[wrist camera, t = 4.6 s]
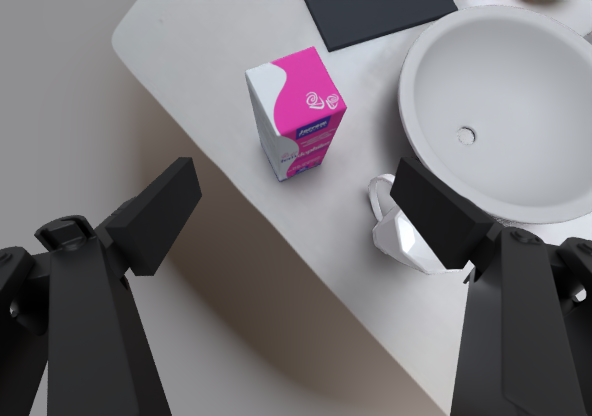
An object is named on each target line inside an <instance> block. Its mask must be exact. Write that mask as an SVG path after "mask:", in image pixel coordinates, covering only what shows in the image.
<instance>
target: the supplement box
mask: <svg viewBox="0 0 592 416" xmlns="http://www.w3.org/2000/svg"><path fill="white" fill-rule="evenodd" d="M245 76H246V81H247V85H248V89H249V93H250V98H251V102H252V106H253V111H254V115H255V120H256V124H257V129H258V133H259V137H260V141H261V144H262V146H263V148H264V150H265V153H266V155H267V157H268V159H269V161H270V163H271V165H272V168H273V170H274V172H275V174H276V176H277V178H278V180H279V182H281V181H283V180H285V179H287V178H289V177H291V176H293V175H295V174H298V173H300V172H302V171H305V170H307V169H309V168H312V167H314V166H317V165H319V164H321V162H322V160H323V158H324V156H325V154H326V152H327V149H328V147H329V145H330V143H331V141H332V139H333V137H334V135H335V133H336V130H337V128H338V126H339V124H340V122H341V120H342V117H343V115H344V113H345V111H346V109H347V107H346V105H345V103H344V101H343V99H342V97H341V95H340V94H339V92H338V90H337V88H336V87H335V85H334V83H333V81H332V80H331V78H330V76H329V74H328V72H327V70H326V68H325V66H324V64H323V62H322V61H321V59H320V57H319V55H318V53H317V51H316V49H315V47H310V48H307V49H305V50H302V51H299V52H297V53H294V54H291V55H288V56H285V57H283V58H280V59H277V60H274V61H272V62H269V63H266V64H263V65H260V66H258V67H255V68H252V69H249V70H246V71H245Z"/></svg>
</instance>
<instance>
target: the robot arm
mask: <svg viewBox="0 0 592 416" xmlns="http://www.w3.org/2000/svg"><path fill="white" fill-rule="evenodd" d="M390 196H391V197H392V198H393V200H394V201H395V202H396V204H397V205H398V206H399V207H400V209H401V210H402V211H403V213H404V214H405V215H406V217H407V218H408V219H409V221H410V222H411V223H412V225H413V226H414V227H415V229H416V230H417V231H418V233H419V234H420V235H421V237H422V238H423V239H424V241H425V242H426V243H427V245H428V246H429V247H430V249H431V250H432V251H433V253H434V254H435V255H436V257H437V258H438V259H439V260H440V262H441V263H442V264H443V266H444V267H445V268H446V270H450V269H463V268H464V266H465V265H466V264H467V262H468V261H469V260H470V261H471V262H472V263H473V264H474V266H475V267H474V268H473V269H472V271H471V272H470V273H469V275H468V276H467V278H466V279H465V280H464V282H463V283H464V284H466V283H467V282H468V281H469V288H468V295H467V302H466V309H465V316H464V323H463V330H462V337H461V344H460V351H459V358H458V365H457V371H456V378H455V385H454V392H453V399H452V406H451V413H450V416H592V241H591V240H585V239H582V238H576V237H570V238H567V239H566V240H565V241H564V242H563V243H562V244H561V245H560V246H556V245H551V244H545V243H544V242H543V240H542V239H540V238H539V237H538V236H536V235H534V234H533V233H531V232H529V231H526V230H524V229H521V228H516V227H508V226H507V227H504V226H503V225H502V224H500V223H499V222H498V221H496V220H495V219H494V218H493V217H491V216H490V215H489V214H487V213H486V212H485V211H483V210H482V209H481V208H480V207H478V206H476V204H474V203H473V202H472V201H471V200H469V199H468V198H466V197H464V196H462V195H460V194H458V193H457V192H456V191H455V190H453V189H452V188H451V187H449V186H448V185H447V184H446V183H444V182H443V181H442V180H441V179H439V178H438V177H437V176H436V175H434V174H433V173H432V172H431V171H429V170H428V169H427V168H425V167H424V166H423V165H422V164H420V163H419V162H418V161H417V160H415V159H414V158H413V157H401V159H400V162H399V166H398V169H397V172H396V175H395V179H394V182H393V185H392V188H391V192H390ZM201 197H202V193H201V190H200V186H199V182H198V179H197V175H196V171H195V168H194V164H193V161H192V158H191V157H188V158H187V157H179V158H178V159H177V160H176V161H175V162H174V163H173V164H171V165H170V166H169V167H168V168H167V169H166V170H165V171H164V172H163V173H162V174H161V175H160V176H159V177H157V178H156V180H154V181H153V182H152V183H151V184H150V185H149V186H148V187H147V188H146V189H145V190H144V191H142V192H141V193H140V194H139V195H138V196H137V197H134V198H132V199H130V200H128V201H126V202H124V203H123V204H122V205H121V206H120V207H119V208H118V209H117V210H116V211H114V212H113V213H112V214H111V216H109V217H108V218H106V219H105V220H104V221H103V222H102V223H101V224H100V225H99V226H98V227H96V228H95V229H94V230H93V228H92V227H91V226H90V224H89V223H88V221H87V220H86V218H85V217H84V216H80V215H73V216H66V217H62V218H59V219H56V220H54V221H51V222H49V223H47V224H45V225H44V226H42V227H41V228H40V229H38V230H37V231H36V233H35V234H34V236H35V237H36V238H37V239H38V240H39V241H40V242H41V243H42V245H43V246H44V247H45V248H46V249H47V250H48V251H49V252H46V253H41V254H36V255H32V256H31V255H30V254H29V253H28V252H27V251H26V250H25V249H24V248H23V247H17V246H15V247H9V248H4V249H1V250H0V416H29V414H30V411H31V408H32V405H33V402H34V399H35V396H36V393H37V390H38V387H39V384H40V381H41V378H42V375H43V372H44V370H45V366H46V363H47V361H48V395H47V396H48V397H47V416H172V414H171V411H170V408H169V405H168V402H167V399H166V396H165V393H164V390H163V387H162V384H161V381H160V378H159V375H158V372H157V368H156V365H155V362H154V359H153V356H152V353H151V350H150V347H149V344H148V341H147V338H146V335H145V332H144V329H143V325H142V323H141V319H140V316H139V313H138V310H137V307H136V304H135V301H134V298H133V295H132V292H131V289H130V286H129V283H128V280H127V278H126V277H125V275H124V274H125V272H126V271H127V270H128V268H129V267H130V268H131V270H132V271H133V273H134V274H135V276H154V274H155V272H156V271H157V269H158V267H159V266H160V264H161V262H162V261H163V259H164V257H165V256H166V254H167V253H168V251H169V249H170V248H171V246H172V244H173V243H174V241H175V239H176V238H177V236H178V235H179V233H180V231H181V230H182V228H183V226H184V225H185V223H186V221H187V220H188V218H189V217H190V215H191V213H192V212H193V210H194V208H195V207H196V205H197V203H198V201H199V200H200V198H201ZM584 288H585V291H586V298H585V299H584V300H583V301H579V300H578V299H577V298H576V296H575V295H576V294H578V293H579V292H580V291H581V290H583V289H584ZM10 308H11V309H12V310H13V312H12V314H11V312H10Z"/></svg>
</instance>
